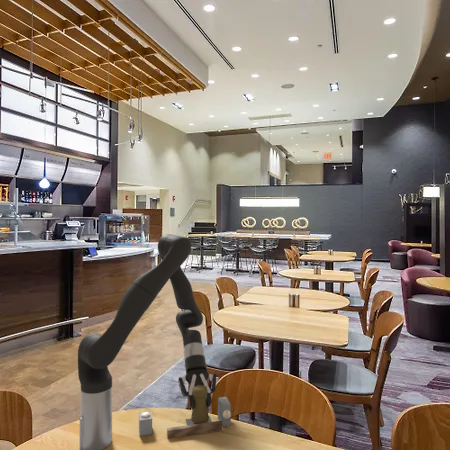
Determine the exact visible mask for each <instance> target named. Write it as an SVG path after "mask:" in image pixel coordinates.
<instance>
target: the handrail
mask: <svg viewBox="0 0 450 450" xmlns="http://www.w3.org/2000/svg"><path fill="white" fill-rule="evenodd" d="M223 427H224V426H223V423H222V421H219V420H215V421H212V422H207V423H200V424H193V425H187V424H186V425H180V426H174V427H173V426H171V427H167V428H166V439H173V438H175V439H176V438H180V437H186V436H187V437H189V436H194V435H201V434H206V433H214V432H221V431H223Z"/></svg>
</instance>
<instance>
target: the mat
mask: <svg viewBox="0 0 450 450" xmlns="http://www.w3.org/2000/svg"><path fill="white" fill-rule="evenodd" d="M207 422H213V420H212V419H211V417H210V415H209V420H208V421H207ZM207 422H206V423H207ZM185 424H186V425H193V424H197V423H194V422H192V421H191V417H190V418H186V419H185Z"/></svg>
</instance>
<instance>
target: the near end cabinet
mask: <svg viewBox="0 0 450 450" xmlns="http://www.w3.org/2000/svg"><path fill="white" fill-rule="evenodd" d="M152 415H153V413H152V410H150V411H142V412H138V433H139V434H138V435H139V437H141V436H149V435H153V416H152Z"/></svg>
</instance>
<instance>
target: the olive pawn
mask: <svg viewBox="0 0 450 450" xmlns="http://www.w3.org/2000/svg"><path fill="white" fill-rule="evenodd" d="M207 393H208V390H207V387H206V386H204V385H197V386H195V387H194V388H193V390H192V396H193V399H194V409H192V408H191V416H190V418H191V421H192V422H194V423H197V424H200V423H206V422H207V421H208V420H209V416H210V415H209V409H208V408H209V407H207V400H206V396H207Z"/></svg>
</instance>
